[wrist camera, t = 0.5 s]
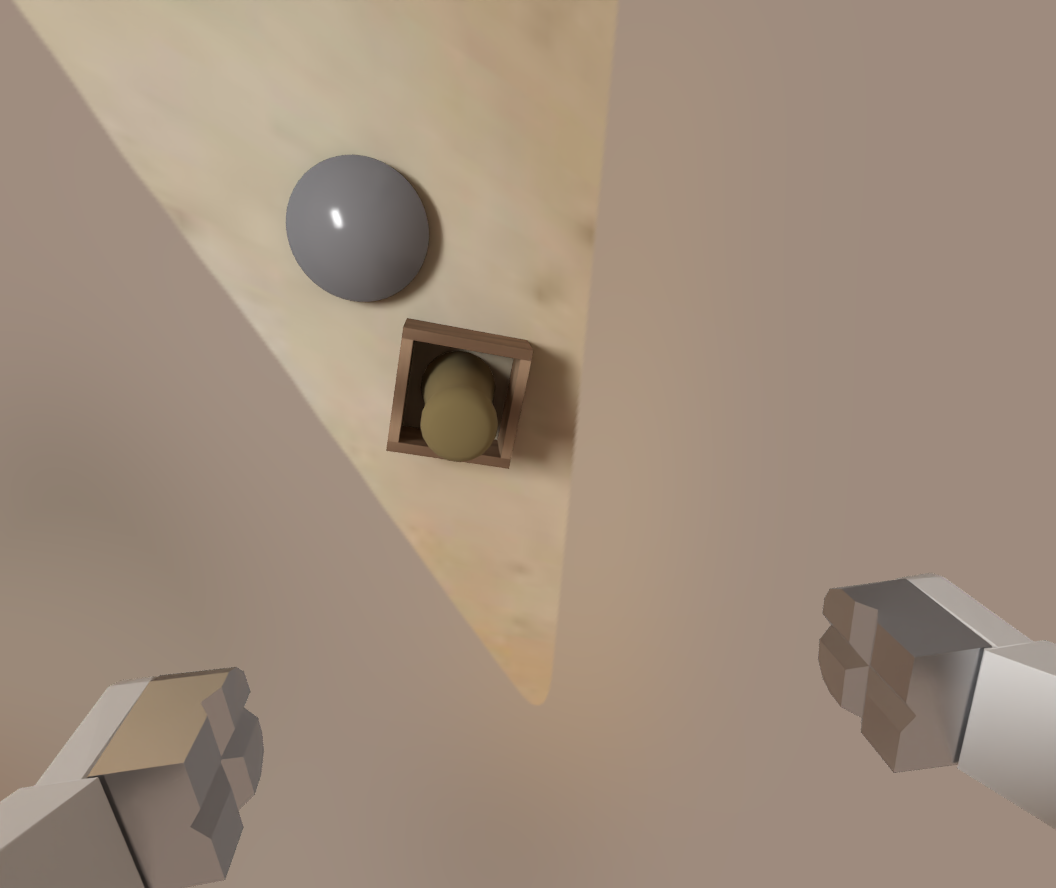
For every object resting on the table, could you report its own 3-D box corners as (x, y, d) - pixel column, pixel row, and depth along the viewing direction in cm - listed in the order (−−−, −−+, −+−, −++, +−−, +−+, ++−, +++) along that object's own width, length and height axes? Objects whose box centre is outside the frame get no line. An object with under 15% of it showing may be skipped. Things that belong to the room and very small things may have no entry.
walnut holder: (407, 318, 48) (403, 327, 44) (527, 340, 50) (533, 350, 46) (391, 433, 51) (386, 450, 47) (504, 450, 53) (508, 468, 49)
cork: (505, 364, 50) (518, 403, 40) (481, 431, 52) (488, 485, 42) (433, 340, 49) (428, 374, 39) (411, 410, 51) (401, 460, 40)
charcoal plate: (294, 140, 43) (291, 139, 42) (438, 173, 45) (438, 172, 44) (284, 286, 46) (281, 287, 45) (418, 311, 48) (418, 313, 47)
